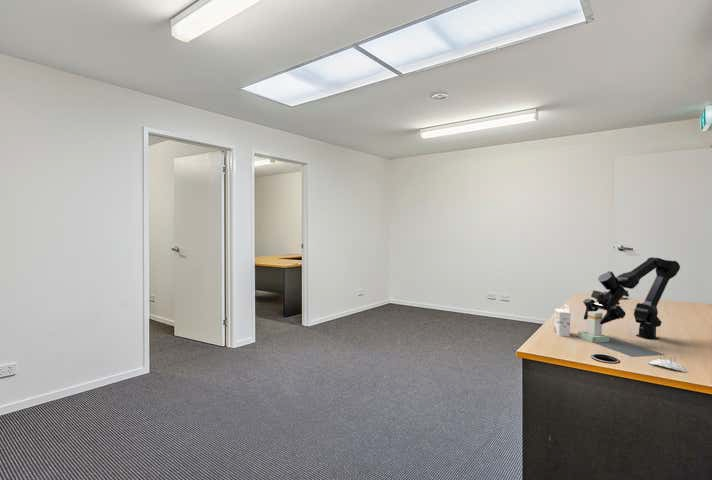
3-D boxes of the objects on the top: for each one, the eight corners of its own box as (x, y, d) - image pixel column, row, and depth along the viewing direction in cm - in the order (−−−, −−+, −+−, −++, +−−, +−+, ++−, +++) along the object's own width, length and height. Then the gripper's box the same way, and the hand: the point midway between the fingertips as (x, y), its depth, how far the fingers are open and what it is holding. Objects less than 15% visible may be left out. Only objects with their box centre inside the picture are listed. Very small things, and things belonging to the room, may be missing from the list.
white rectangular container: (594, 337, 183) (595, 311, 183) (602, 340, 178) (603, 313, 178) (585, 338, 182) (586, 311, 182) (593, 341, 177) (594, 313, 177)
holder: (594, 336, 186) (594, 331, 185) (610, 341, 177) (610, 336, 177) (578, 337, 184) (578, 331, 184) (593, 342, 175) (594, 337, 175)
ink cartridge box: (553, 332, 194) (554, 302, 193) (564, 332, 193) (565, 302, 192) (558, 336, 186) (559, 305, 185) (570, 337, 185) (571, 306, 184)
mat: (603, 335, 189) (603, 334, 188) (665, 355, 159) (665, 354, 159) (574, 337, 185) (574, 336, 185) (632, 357, 156) (632, 356, 156)
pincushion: (644, 365, 147) (644, 350, 147) (650, 362, 151) (650, 348, 151) (685, 375, 138) (685, 359, 138) (690, 372, 141) (690, 356, 141)
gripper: (587, 281, 189) (566, 305, 187) (621, 287, 171) (598, 313, 169) (600, 297, 191) (580, 321, 189) (635, 305, 173) (613, 331, 171)
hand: (592, 321), depth 180 cm, fingers open, 9 cm apart
